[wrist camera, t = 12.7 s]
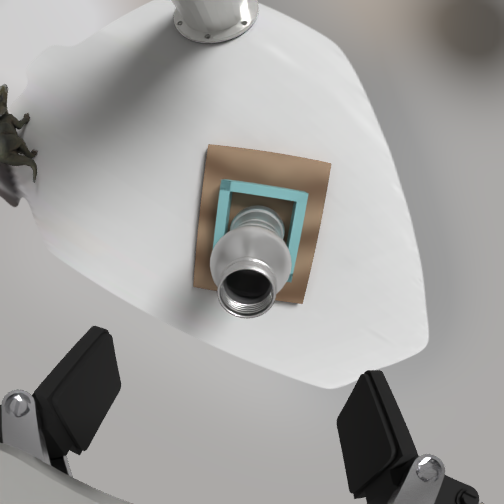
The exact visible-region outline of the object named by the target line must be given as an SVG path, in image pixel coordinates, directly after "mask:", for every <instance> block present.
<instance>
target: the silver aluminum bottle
mask: <svg viewBox="0 0 504 504" xmlns="http://www.w3.org/2000/svg"><path fill="white" fill-rule="evenodd" d="M284 234H285V228H284V224H283V221H282V219H281V217H280V216H279V215H278V214H277V213H276V212H275V211H274V210H272V209H270V208H268V207H265V206H259V205H256V206H250V207H247V208H245V209H243V210H241V211H240V212H239V213H237V215H236V216H235V217H234V219H233V221H232V223H231V226H230V231H229V232H227V233H226V234H225V235H224V236H223V237H222V238H220V240H219V241H218V242H217V243H216V245H215V247H214V249H213V251H212V254H211V257H210V269H211V274H212V278H213V280H214V283H215V284H216V286H217V287H218V288H217V294H218V299H219V302H220V304H221V305H222V307H223V308H224V309H225V310H226V311H227V312H229V313H230V314H232V315H234V316H236V317H240V318H254V317H258V316H260V315H262V314H264V313H266V312H267V311H268V310H269V309H270V308H271V307H272V305H273V304H274V301H275V298H276V294H277V293H278V292H279V291H280V290H281V289H282V288H283V286H284V285H285V283H286V282H287V280H288V278H289V275H290V273H291V266H292V262H291V255H290V252H289V249H288V247H287V246H286V244H285V242H284V241H283V238H284Z"/></svg>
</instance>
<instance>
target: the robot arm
mask: <svg viewBox="0 0 504 504" xmlns="http://www.w3.org/2000/svg"><path fill="white" fill-rule="evenodd" d="M171 1H172V2H173V4H174V5H175V7H176V10H175V12H174V23H175V26H176V28H177V29H178V31H179V32H180V33H181V34H182V35H183V36H184V37H186V38H187V39H190V40H192V41H195V42H200V43H217V42H222V41H227V40H229V39H232V38H235V37H237V36H239V35H241V34H242V33H244V32H245V31H246V30H248V29H249V28H250V27H251V26H252V25H253V23H254V22H255V20H256V18H257V16H258V9H259V7H258V2H257V0H171ZM208 38H209V39H208ZM120 388H121V381H120V376H119V371H118V366H117V361H116V357H115V350H114V345H113V338H112V336H111V335H110V334H109V332H108V330H106V329H103V328H100V327H97V326H93V327H91V328H90V329H89V331H88V332H87V333H86V334H85V335H84V336H83V337H82V338H81V339H80V340H79V341H78V342H77V343H76V345H75V346H74V347H73V348H72V349H71V350H70V351H69V352H68V353H67V354H66V356H65V357H64V358H63V359H62V360H61V361H60V363H58V365H57V366H56V367H55V368H54V369H53V370H52V372H51V373H50V374H49V375H48V376H47V377H46V379H45V380H44V381H43V382H42V383H41V384H40V386H39V387H38V388H37V389H36V390H35V391H34V393H33V395H31V394H30V393H28V392H27V391H24V390H14V391H11V392H9V393H8V394H7V395H6V396H5V397H4V398H3V400H2V405H0V504H133V503H130V502H127V501H124V500H122V499H119V498H116V497H114V496H112V495H109V494H107V493H104V492H102V491H100V490H97V489H95V488H93V487H91V486H89V485H87V484H85V483H82V482H80V481H78V480H76V479H74V478H73V476H72V473H71V470H70V467H69V463H68V460H67V456H66V455H67V453H68V451H69V450H70V451H72V452H74V453H76V454H78V455H80V454H81V452H82V450H83V451H85V450H87V448H88V447H89V445H90V443H91V441H92V439H93V437H94V436H95V434H96V432H97V430H98V428H99V426H100V425H101V423H102V421H103V419H104V417H105V416H106V414H107V412H108V410H109V409H110V407H111V405H112V403H113V402H114V400H115V398H116V396H117V395H118V393H119V391H120ZM337 429H338V433H339V438H340V443H341V448H342V453H343V458H344V463H345V469H346V475H347V480H348V486H349V491H350V492H351V493H353V494H354V499H356V498H363V497H366V500H367V504H479V495H478V493H477V491H476V490H475V489H474V488H473V487H471V486H469V485H466V484H464V483H462V482H459V481H457V480H454V479H453V478H450V477H448V476H446V475H445V467H444V464H443V463H442V461H441V460H440V459H439V458H438V457H436V456H434V455H430V454H425V455H422V456H418V454H417V450H416V448H415V445H414V443H413V440H412V438H411V435H410V433H409V430H408V428H407V426H406V423H405V421H404V419H403V417H402V414H401V412H400V409H399V407H398V405H397V403H396V400H395V398H394V396H393V394H392V391H391V389H390V387H389V385H388V383H387V381H386V378H385V376H384V374H383V372H382V371H380V370H379V371H378V370H368V371H366V372H365V373H364V374H362V375H361V376H360V377H359V379H358V381H357V383H356V385H355V387H354V389H353V391H352V393H351V395H350V396H349V398H348V400H347V402H346V404H345V406H344V407H343V409H342V411H341V413H340V414H339V416H338V418H337ZM480 504H484V503H483V502H481V503H480Z"/></svg>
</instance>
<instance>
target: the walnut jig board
mask: <svg viewBox="0 0 504 504" xmlns="http://www.w3.org/2000/svg"><path fill="white" fill-rule="evenodd" d="M330 169H331V163H327V162H322V161H317V160H312V159H307V158H302V157H296V156H291V155H285V154H279V153H273V152H266V151H260V150H253V149H245V148H237V147H229V146H220V145H210V144H208V151H207V158H206V165H205V172H204V180H203V188H202V197H201V205H200V215H199V224H198V234H197V245H196V257H195V269H194V283H193V287H197V288H203V289H209V290H214V291H217V288H218V287H217V286H216V284H215V283H214V280H213V278H212V274H211V269H210V257H211V254H212V251H213V249H214V247H215V245H216V243H217V242H218V241H219V240H220V238H222V237H223V236H224V235H225V234H226V233H227V232H229V231H230V226H231V223H232V221H233V219H234V217H235V216H236V215H237V213H239V212H240V211H241V210H243V209H245V208H247V207H250V206H256V205H259V206H265V207H268V208H270V209H272V210H274V211H275V212H276V213H277V214H278V215H279V216H280V217H281V219H282V221H283V224H284V228H285V234H284V238H283V241H284V242H285V244H286V246H287V247H288V249H289V252H290V255H291V262H292V266H291V273H290V275H289V278H288V280H287V282H286V283H285V285H284V286H283V288H282V289H281V290H280V291H279V292H278V293H277V294H276V298H275V300H278V301H285V302H292V303H300V304H303V300H304V296H305V292H306V288H307V283H308V279H309V275H310V270H311V266H312V262H313V257H314V253H315V248H316V243H317V238H318V234H319V229H320V224H321V219H322V214H323V208H324V203H325V198H326V192H327V186H328V181H329V175H330Z"/></svg>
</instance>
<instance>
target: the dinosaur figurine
mask: <svg viewBox="0 0 504 504" xmlns="http://www.w3.org/2000/svg"><path fill="white" fill-rule="evenodd" d="M7 93H8V87H7V85H6V84H4V85H2V86H0V162H1V163H5V164H9V165H12V166H20V165H28V166H30V167H31V168H32V169H33V182H34V183H35V180H36V175H37V166H36V163H35V162H34V160H32V158H33V157H34V156H35V155H36V154H37V152H38V151H34V150H32V151H31V152H30V151H29V150H28V148H27V146H26V144H25V142H24V141H23V139H22V138H20V137H18V136H17V132H16V129H15V128H17V129H21V128H22V126H23V125H24V124H27V123H28V121H29V118H30V117H29V113H27V114H24V118H23V119H22V120H20V121H18V120H17V118H15V117H14V116H13V115H12V114H8V111H7ZM18 153H20V154H24V155H25V156H22V155H19V154H18Z"/></svg>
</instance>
